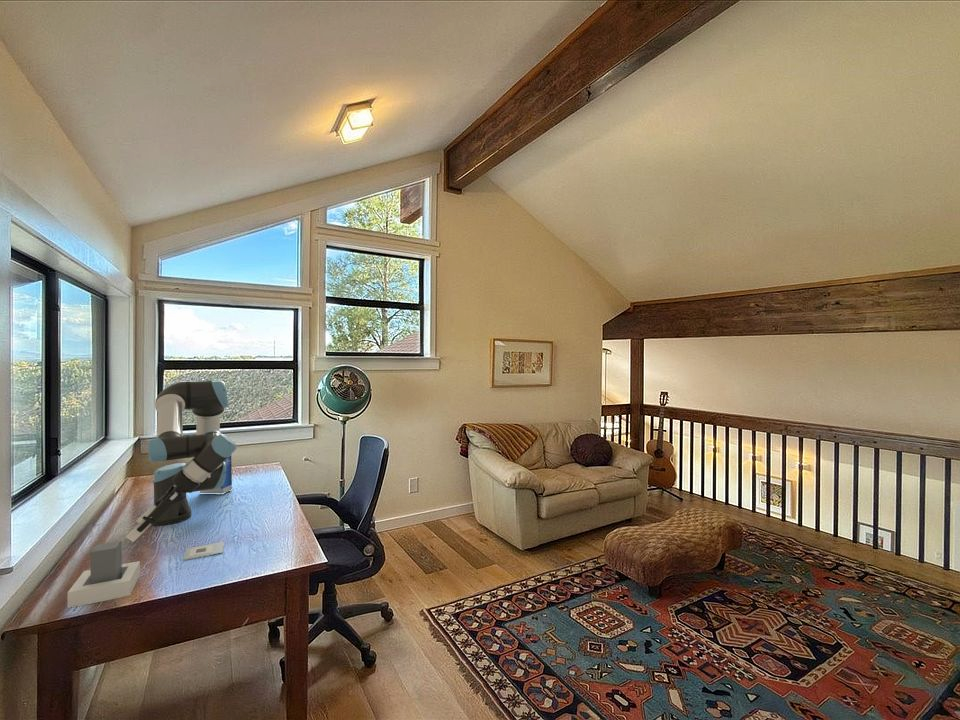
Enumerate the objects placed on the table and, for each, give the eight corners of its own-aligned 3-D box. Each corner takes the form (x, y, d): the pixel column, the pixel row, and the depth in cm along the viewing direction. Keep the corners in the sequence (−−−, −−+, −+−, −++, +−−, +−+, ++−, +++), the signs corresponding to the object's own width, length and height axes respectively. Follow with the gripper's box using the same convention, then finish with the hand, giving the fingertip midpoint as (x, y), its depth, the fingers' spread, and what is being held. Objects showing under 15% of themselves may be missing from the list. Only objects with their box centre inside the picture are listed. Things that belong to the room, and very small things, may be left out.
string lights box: (232, 490, 230) (232, 442, 230) (222, 495, 223) (222, 445, 222) (209, 490, 232) (208, 441, 231) (198, 494, 224) (198, 444, 224)
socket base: (84, 585, 136) (84, 570, 136) (140, 574, 143) (140, 561, 143) (67, 608, 124) (67, 592, 124) (129, 595, 130) (129, 580, 130)
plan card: (186, 549, 161) (186, 547, 161) (224, 542, 167) (224, 541, 167) (182, 560, 152) (182, 558, 152) (222, 553, 158) (222, 551, 158)
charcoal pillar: (97, 582, 135) (96, 544, 135) (121, 578, 138) (121, 540, 137) (90, 592, 129) (90, 552, 129) (116, 587, 132) (115, 547, 132)
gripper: (197, 494, 133) (136, 553, 126) (205, 473, 155) (153, 523, 148) (175, 479, 130) (112, 539, 124) (187, 460, 152) (133, 510, 146)
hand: (134, 531), depth 136 cm, fingers open, 13 cm apart
